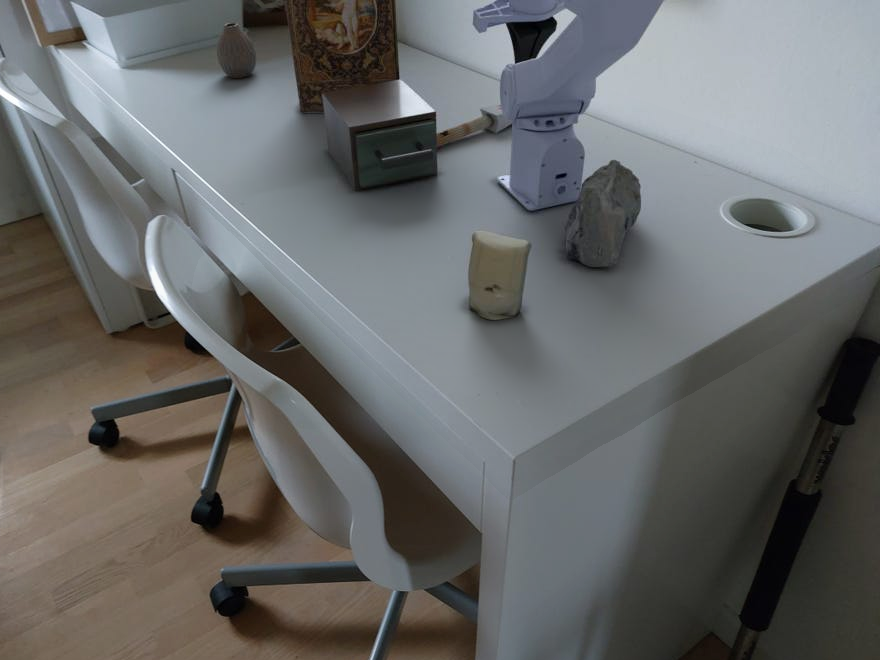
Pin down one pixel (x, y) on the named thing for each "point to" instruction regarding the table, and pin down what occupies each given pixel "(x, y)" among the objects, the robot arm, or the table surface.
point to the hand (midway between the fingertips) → (522, 68)
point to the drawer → (396, 152)
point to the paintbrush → (476, 125)
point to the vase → (236, 52)
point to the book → (341, 46)
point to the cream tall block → (497, 274)
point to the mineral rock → (603, 215)
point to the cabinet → (369, 119)
